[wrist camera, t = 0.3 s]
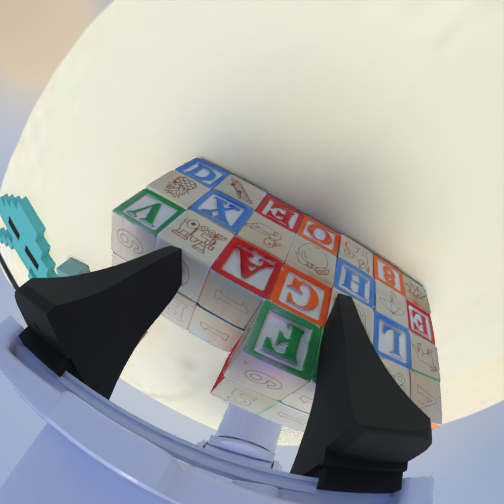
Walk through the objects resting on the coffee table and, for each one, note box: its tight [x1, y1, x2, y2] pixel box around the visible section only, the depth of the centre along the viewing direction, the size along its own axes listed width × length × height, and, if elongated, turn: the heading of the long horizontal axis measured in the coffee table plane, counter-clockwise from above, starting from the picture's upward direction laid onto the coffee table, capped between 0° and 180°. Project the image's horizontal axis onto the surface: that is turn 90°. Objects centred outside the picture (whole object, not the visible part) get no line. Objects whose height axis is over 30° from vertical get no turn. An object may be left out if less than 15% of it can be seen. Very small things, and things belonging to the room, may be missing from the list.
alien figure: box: [0, 194, 58, 279], centre depth 36 cm, size 20×2×20 cm
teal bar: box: [56, 258, 90, 277], centre depth 36 cm, size 22×4×3 cm, turn 173°
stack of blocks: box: [111, 158, 442, 432], centre depth 17 cm, size 21×6×12 cm, turn 66°
